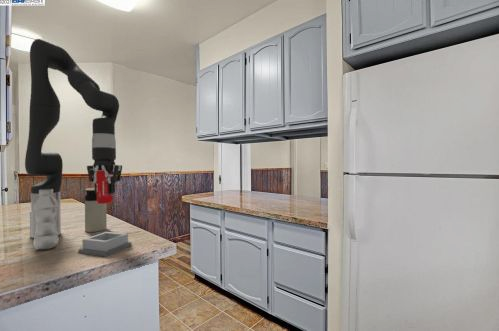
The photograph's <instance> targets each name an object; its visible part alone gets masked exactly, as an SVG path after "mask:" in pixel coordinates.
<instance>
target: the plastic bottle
mask: <svg viewBox="0 0 499 331" xmlns="http://www.w3.org/2000/svg"><path fill="white" fill-rule="evenodd" d="M52 195H54V193H53V189H43V190H39V196H40V198H39V199H38V200H37V201H36V203H35V204H34V211H35V217H36V232H35V237H34V238H33V247H34V248H35V249H36V250H48V249H52V248H56V247H57V245H59V239H60V238H59V235H58V233H57V225H56V222H57V221H56V220H57V212H58V206H59V204H58V202H57V200H56V199H55V198H54V197H53V196H52Z"/></svg>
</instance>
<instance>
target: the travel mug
mask: <svg viewBox="0 0 499 331" xmlns="http://www.w3.org/2000/svg"><path fill="white" fill-rule="evenodd" d="M84 191H86V194H85V196H84V232H86V233H98V232H103V231H106V230H107V227H108V226H107V204H98V202H97V194H96V193H95V187H89V188H85V190H84Z"/></svg>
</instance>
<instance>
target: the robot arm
mask: <svg viewBox="0 0 499 331" xmlns="http://www.w3.org/2000/svg"><path fill="white" fill-rule="evenodd" d="M30 45H31V46H30V49H29V62H30V64H29V65H30V66H29V68H30V99H29V100H30V102H29V122H28V123H29V124H28V136H27V137H28V138H27V146H26V150H25V158H24V167H25V168H24V169H25V172H26V173H27V174H28V175H29V176H31V177H32V176H33V177H34V176H46V178H45V179H44V180H43V181H41V182H39V183H36V184H33V185H32V186H30V212H29V237H31V238H32V239H34V237H35V232H36V217H35V211H34V204H35V203H36V201H37V200H38V199H39V198H40V196H39V190H43V189H53V193H54V195H52V196H53V197H54V198H55V199H56V200H57V202H58V204H59V206H58V212H57V220H56V221H57V222H56V225H57V233H58V236H59V235H60V234H61V233H62V229H61V228H62V227H61V226H62V225H61V224H62V220H61V219H62V216H61V215H62V213H61V212H62V210H61V207H62V206H61V202H62V201H61V199H62V198H61V193H62V192H61V188H62V185H63V184H62V183H63V169H64V168H63V164H64V163H63V158H62V156H61V155H60V153H57V152H53V151H51V152H49V151H47V152H46V151H42V150H43V145H44V142H45V140H46V138H47V137H48V136H49V134H50V133H51V132H53V130H54V129H55V128H56V126H57V125H58V124H59V122H60V117H61V102H60V99H59V96H58V95H57V93H56V91H55V90H54V88H53V86H52V84H51V81H50V77H49V69H52V70H55V71H58V72H61V73H62V74H64V75H65V76H66V77H67V81H68V83H69V85H70V86H71V87H72V89H73V90H75V91H76V92H77V93H78V94H79V95H80V96H81V97H82V99H83V101H84V103H85V104H86V105H87V106H88V107H89V108H91V109H92V110H94V111H99V112H102V114H101V116H100V117H99V116H98V117H95V118H94V119H93V120H92V139H91V158H92V160H93V161H94V162H93V164H92V165H86V170H87V175H88V180H89V182H90V183H93V184H94V188H95V193H96V194H97V188H96V172H97V170H104V172H105V177H106V178H107V180H108V183H109V184H108V194H113V195H114V194H115V191H116V183H118V182H120V181H121V177H122V171H123V165H121V164H116V162H115V160H117V147H116V146H117V142H116V135H115V134H116V132H115V131H116V130H115V128H116V127H115V124H116V121H117V118H118V113H119V109H120V102H119V100H118V98H117V96H116V95H114V94H111V93H109V92H106V91H103V90H101V88H100V85H98V83H97V82H96V81H95V80H94V79H92V77H90V76H89V75H88V74H86V72H84V71H83V70H82V69H81V68H80V66H79V65H78V64H77V63H76V61H75V60H74V59H73V57H72V56H71V55H70V53H68V51H66V50H65V49H64V48H63V47H61V46H58V45H56V44H54V43H51V42H49V41H46V40H44V39H41V38H37V39H34V40H33V41H32V42H31V44H30ZM108 173H112V175H109V174H108ZM111 177H112V180H111Z"/></svg>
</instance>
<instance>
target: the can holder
mask: <svg viewBox="0 0 499 331" xmlns="http://www.w3.org/2000/svg"><path fill="white" fill-rule="evenodd" d="M131 246H132V241H129V234H128V233H125V232H123V233H122V232H121V233H120V232H113V231H112V232H109V231H105V232H101V233H98V234H95V235H93V236H89V237H85V238H83V239H82V247H81V248H78V254H83V255H84V254H85V255H91V256H92V255H93V256H100V257H101V256H102V257H108V256H110V255H112V254H114V253H115V254H116V253H117V252H119V251H121V250H124V249H126V248H128V247H131Z"/></svg>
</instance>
